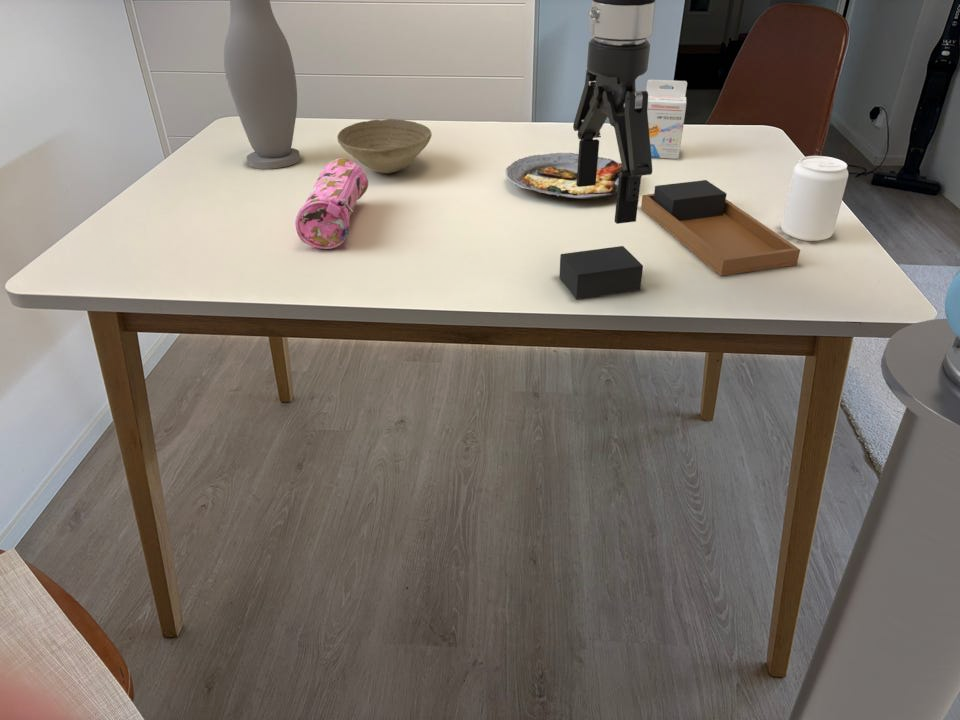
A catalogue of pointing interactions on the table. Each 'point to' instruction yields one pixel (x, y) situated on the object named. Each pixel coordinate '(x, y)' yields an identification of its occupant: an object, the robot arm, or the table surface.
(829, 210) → the beverage can
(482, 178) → the table surface
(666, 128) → the ink box
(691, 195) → the pad
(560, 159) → the food plate
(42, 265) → the table surface
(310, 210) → the pencil case
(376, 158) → the bowl
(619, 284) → the black pad
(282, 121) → the vase
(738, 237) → the tray
